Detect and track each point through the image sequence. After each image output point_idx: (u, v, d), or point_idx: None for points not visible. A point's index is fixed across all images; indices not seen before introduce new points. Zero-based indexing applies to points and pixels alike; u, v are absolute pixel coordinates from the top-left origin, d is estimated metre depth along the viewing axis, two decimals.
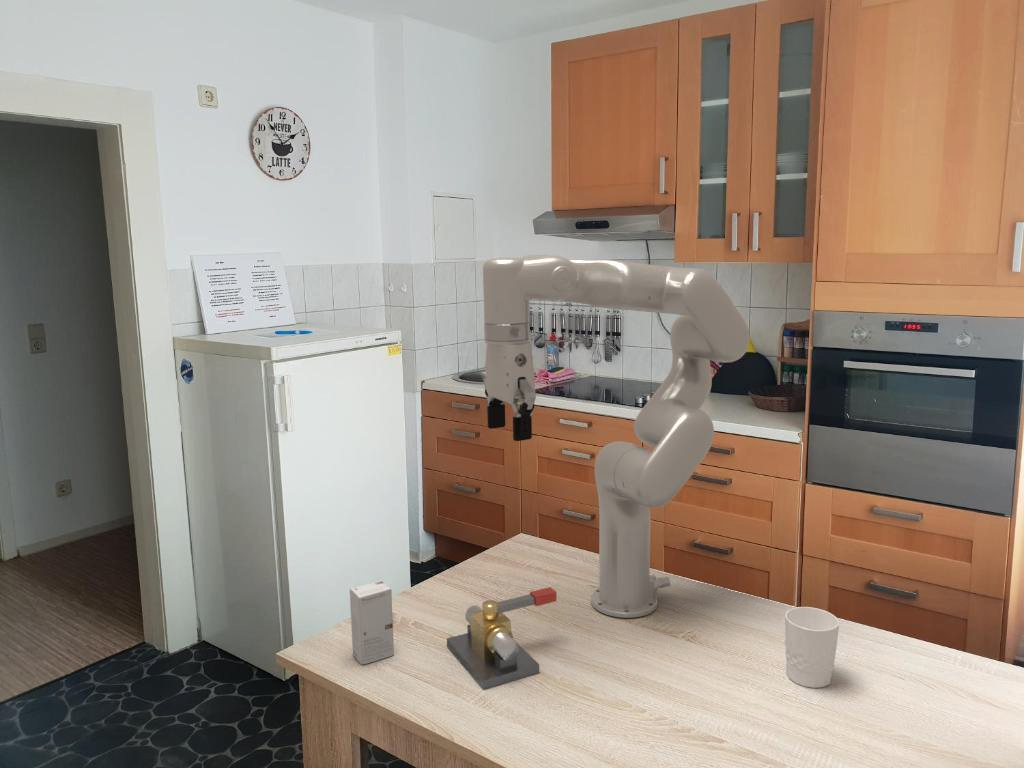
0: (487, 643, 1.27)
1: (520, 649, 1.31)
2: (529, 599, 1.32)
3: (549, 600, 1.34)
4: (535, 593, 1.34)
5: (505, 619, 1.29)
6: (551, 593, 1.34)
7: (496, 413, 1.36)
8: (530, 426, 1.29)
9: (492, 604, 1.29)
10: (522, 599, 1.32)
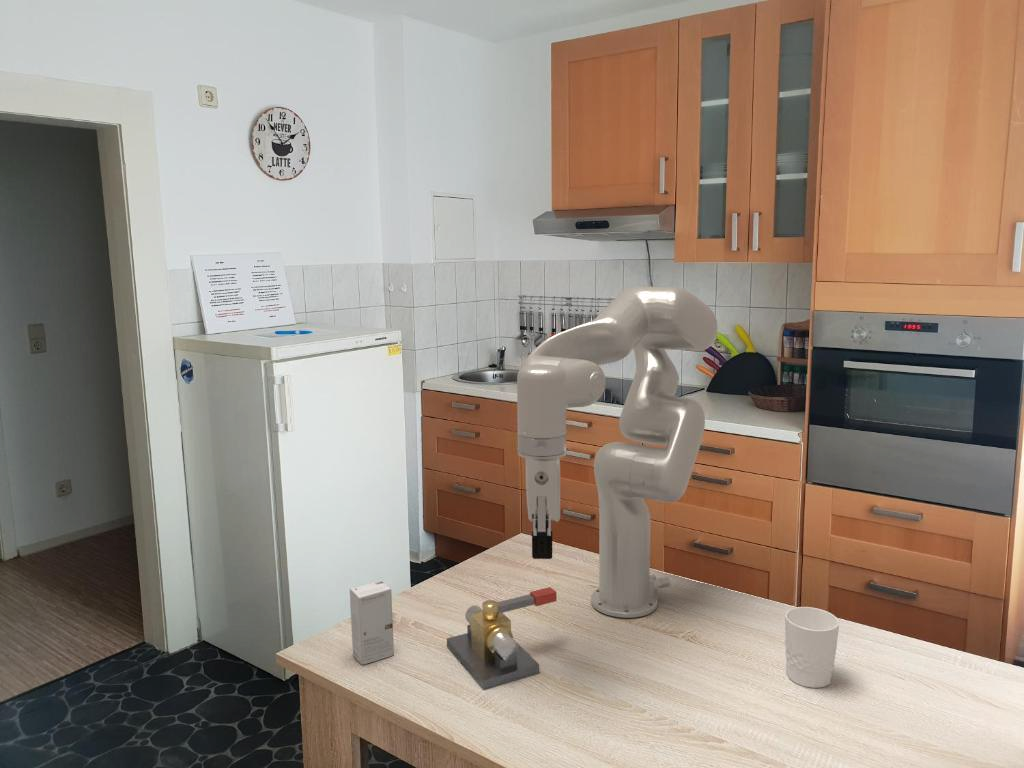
0: (487, 643, 1.27)
1: (520, 649, 1.31)
2: (529, 599, 1.32)
3: (549, 600, 1.34)
4: (535, 593, 1.34)
5: (505, 619, 1.29)
6: (551, 593, 1.34)
7: None
8: (550, 546, 1.23)
9: (492, 604, 1.29)
10: (522, 599, 1.32)
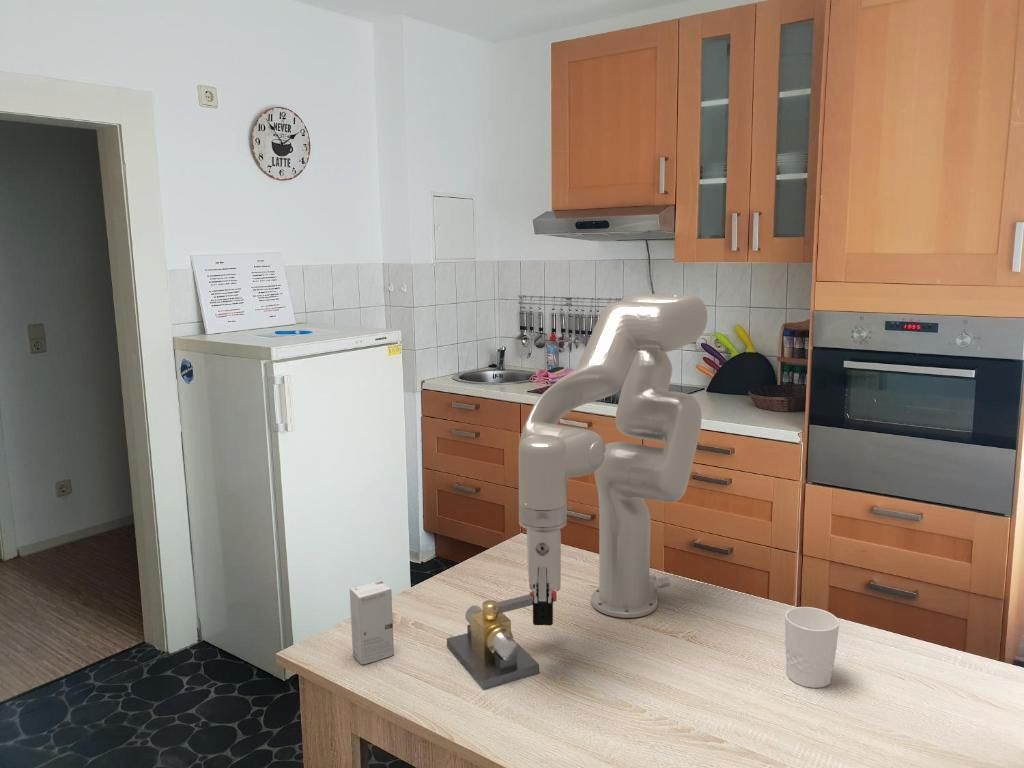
0: (487, 643, 1.27)
1: (520, 649, 1.31)
2: (529, 599, 1.32)
3: None
4: None
5: (505, 619, 1.29)
6: (551, 593, 1.34)
7: None
8: (551, 612, 1.25)
9: (492, 604, 1.29)
10: (522, 599, 1.32)
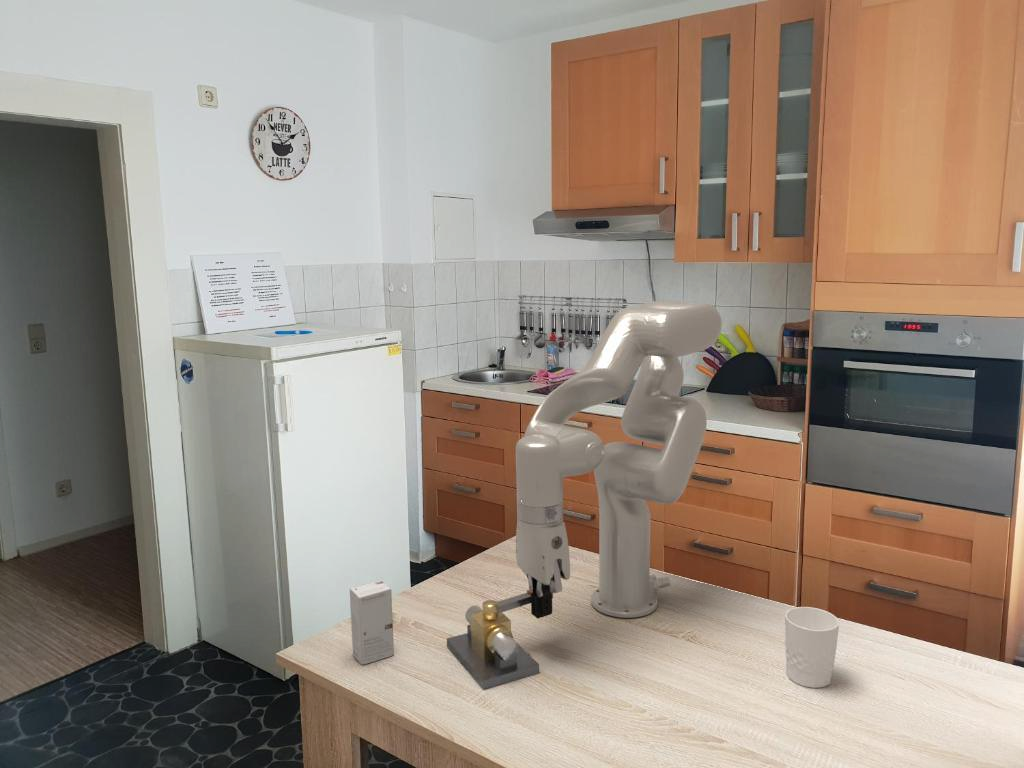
0: (487, 643, 1.27)
1: (520, 649, 1.31)
2: (527, 597, 1.33)
3: None
4: None
5: (505, 619, 1.29)
6: None
7: None
8: (551, 602, 1.31)
9: (492, 604, 1.29)
10: (520, 598, 1.32)
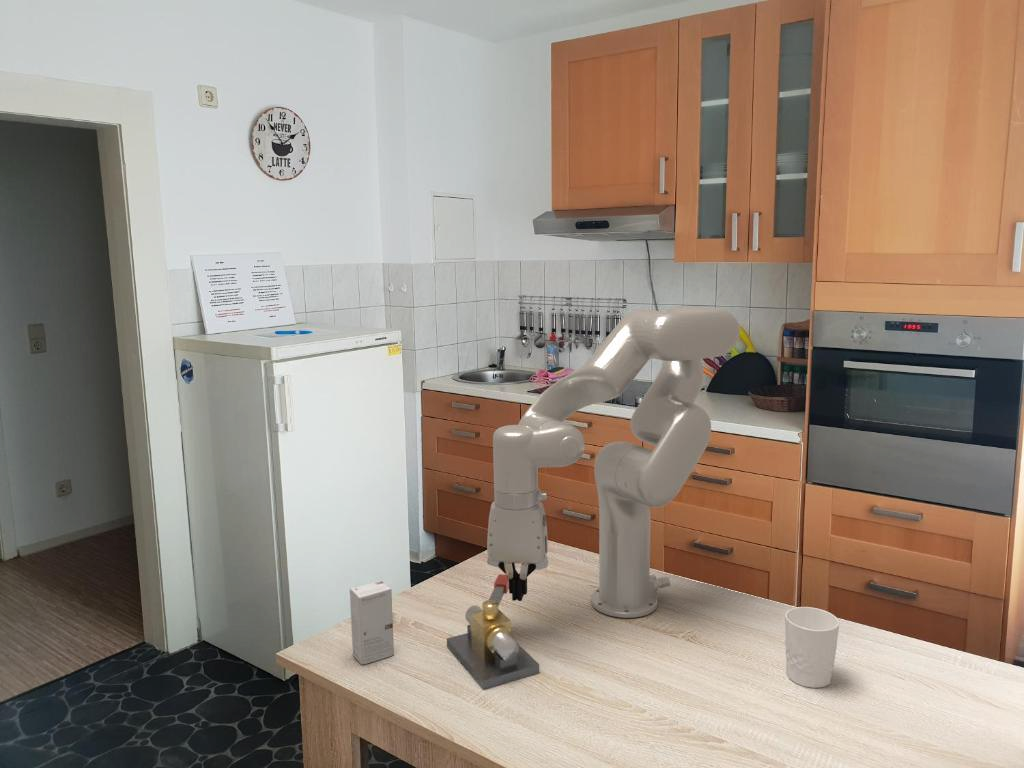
0: (487, 643, 1.27)
1: (520, 649, 1.31)
2: (503, 588, 1.36)
3: None
4: (500, 582, 1.38)
5: (505, 619, 1.29)
6: None
7: None
8: None
9: (493, 603, 1.30)
10: (499, 591, 1.35)
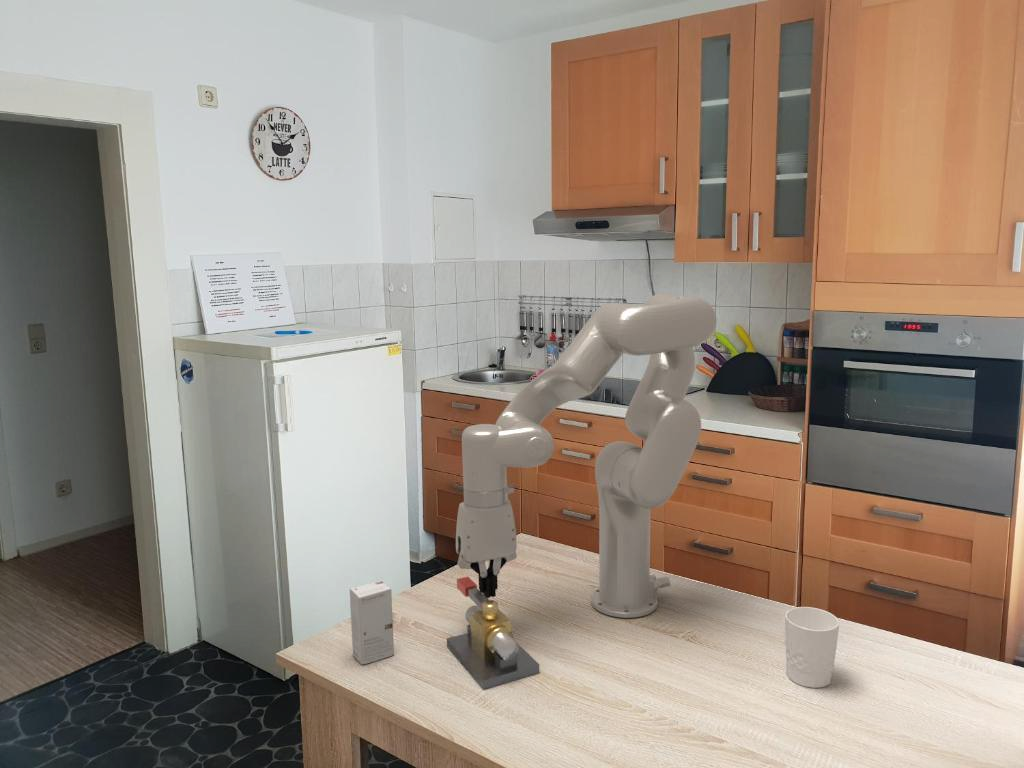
0: (487, 643, 1.27)
1: (520, 649, 1.31)
2: (477, 589, 1.36)
3: None
4: (469, 585, 1.37)
5: (505, 619, 1.29)
6: (469, 579, 1.40)
7: None
8: None
9: (492, 602, 1.30)
10: (478, 592, 1.35)
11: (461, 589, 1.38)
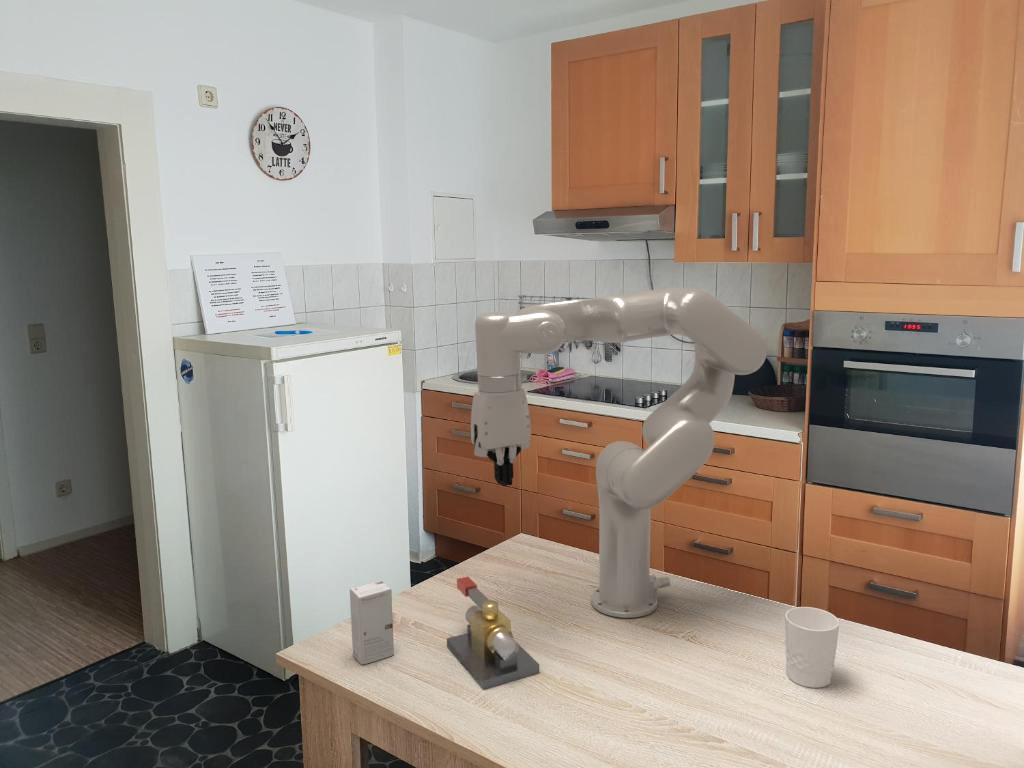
0: (487, 643, 1.27)
1: (520, 649, 1.31)
2: (477, 589, 1.36)
3: None
4: (469, 585, 1.37)
5: (505, 619, 1.29)
6: (469, 579, 1.40)
7: None
8: None
9: (492, 602, 1.30)
10: (478, 592, 1.35)
11: (461, 589, 1.38)
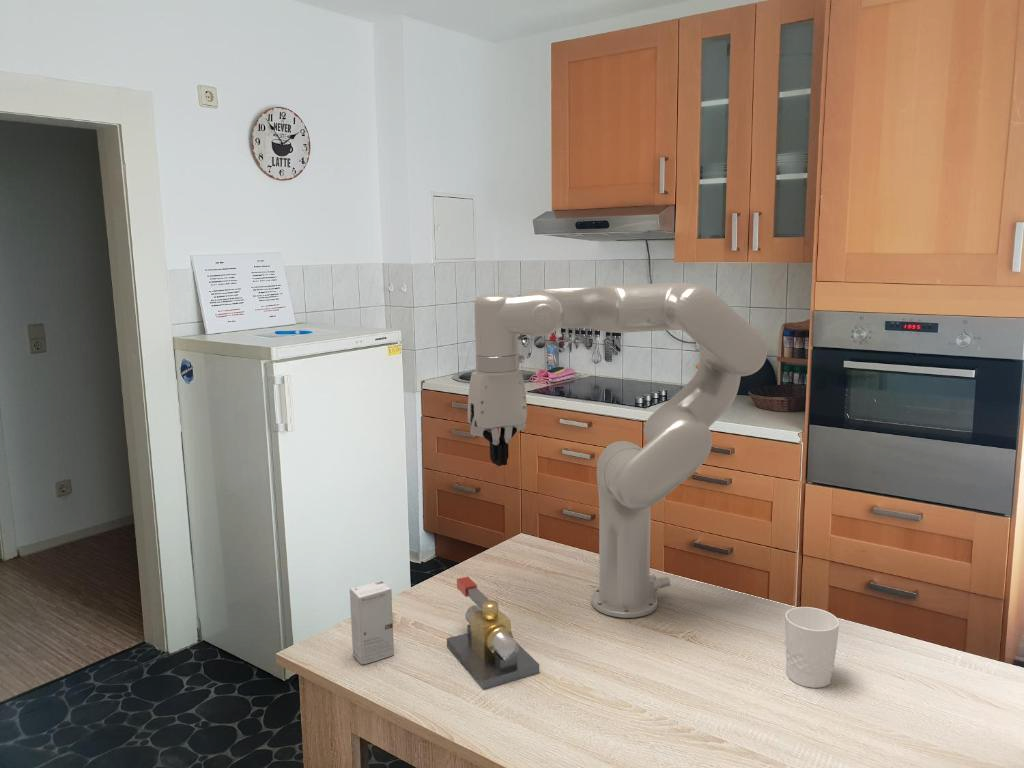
0: (487, 643, 1.27)
1: (520, 649, 1.31)
2: (477, 589, 1.36)
3: None
4: (469, 585, 1.37)
5: (505, 619, 1.29)
6: (469, 579, 1.40)
7: None
8: None
9: (492, 602, 1.30)
10: (478, 592, 1.35)
11: (461, 589, 1.38)
